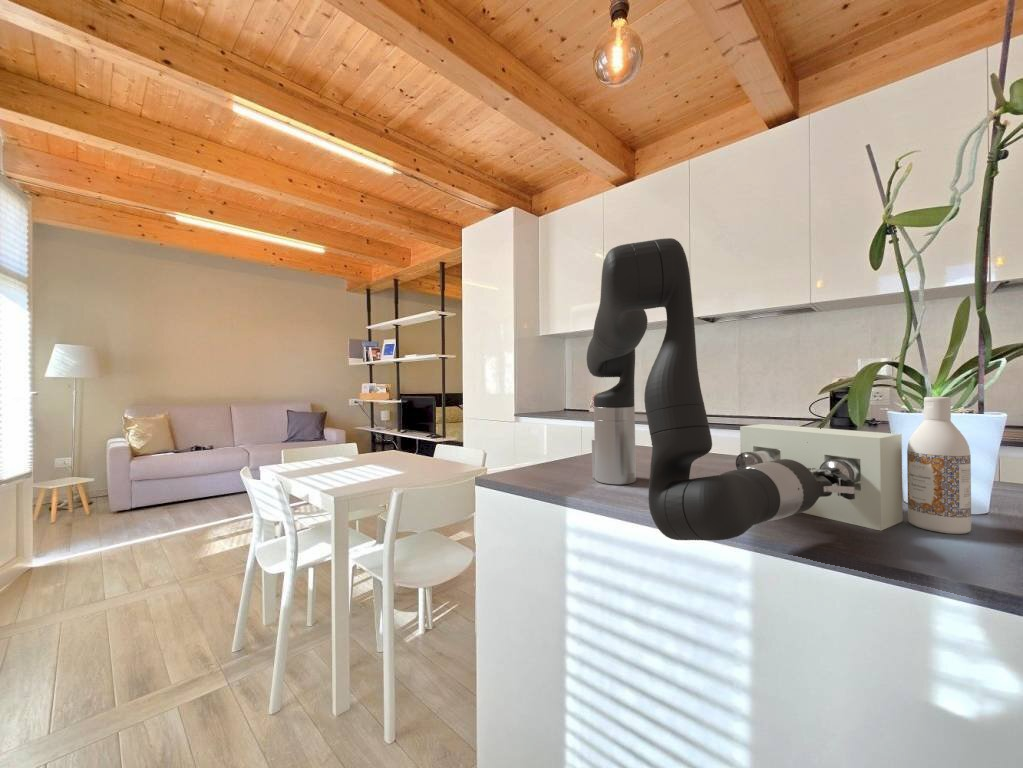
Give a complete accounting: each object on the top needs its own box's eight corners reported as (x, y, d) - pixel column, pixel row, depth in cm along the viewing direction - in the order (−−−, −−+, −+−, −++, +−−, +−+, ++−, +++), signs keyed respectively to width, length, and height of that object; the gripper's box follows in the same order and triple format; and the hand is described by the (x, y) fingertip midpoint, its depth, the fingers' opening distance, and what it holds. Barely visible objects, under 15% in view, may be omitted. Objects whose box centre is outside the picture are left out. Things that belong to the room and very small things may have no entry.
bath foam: (895, 521, 70) (894, 396, 70) (935, 519, 71) (933, 395, 71) (941, 536, 63) (940, 398, 63) (985, 534, 64) (983, 397, 64)
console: (741, 498, 85) (740, 426, 85) (764, 492, 89) (763, 423, 89) (881, 530, 66) (879, 438, 66) (902, 521, 70) (901, 434, 70)
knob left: (735, 475, 80) (735, 450, 79) (764, 469, 84) (763, 446, 84) (759, 479, 76) (759, 454, 76) (788, 473, 80) (787, 449, 80)
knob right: (819, 485, 71) (818, 458, 71) (845, 478, 76) (845, 452, 76) (851, 490, 67) (850, 462, 67) (876, 483, 72) (876, 456, 72)
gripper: (826, 470, 55) (886, 456, 63) (727, 455, 66) (789, 445, 75) (827, 530, 55) (886, 508, 63) (728, 505, 66) (790, 489, 75)
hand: (834, 474), depth 69 cm, fingers closed
